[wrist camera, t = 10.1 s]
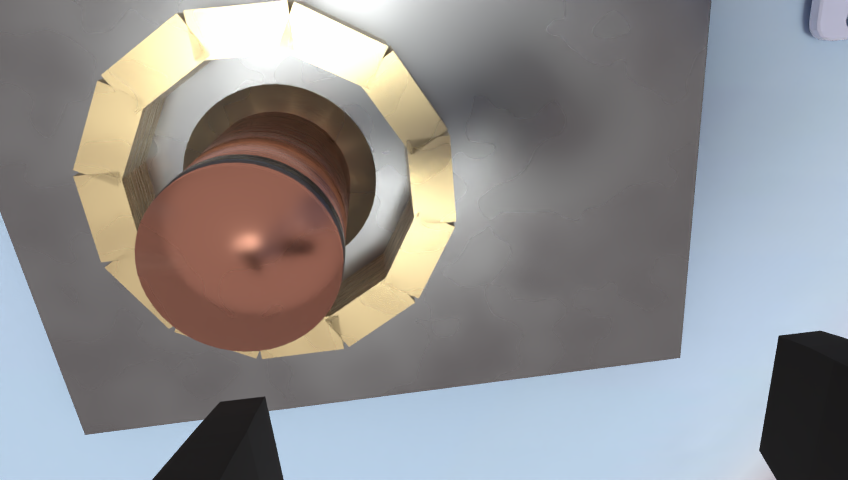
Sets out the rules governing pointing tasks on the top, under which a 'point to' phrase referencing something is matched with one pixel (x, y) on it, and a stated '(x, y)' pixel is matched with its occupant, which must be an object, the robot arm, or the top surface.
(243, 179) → the round knob
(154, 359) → the collar plate
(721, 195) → the top surface
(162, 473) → the robot arm
